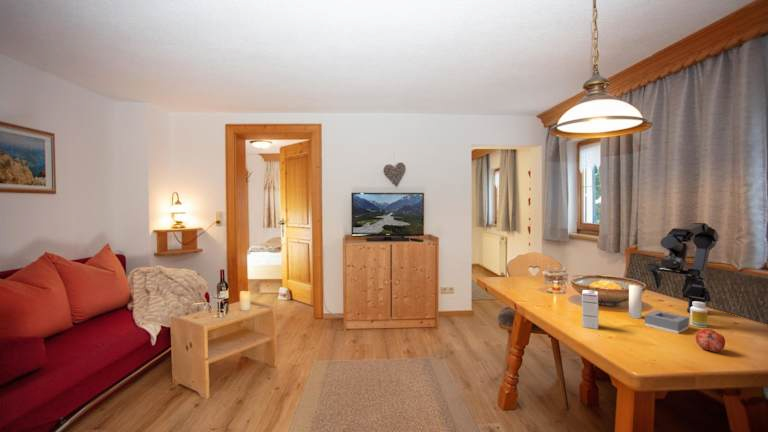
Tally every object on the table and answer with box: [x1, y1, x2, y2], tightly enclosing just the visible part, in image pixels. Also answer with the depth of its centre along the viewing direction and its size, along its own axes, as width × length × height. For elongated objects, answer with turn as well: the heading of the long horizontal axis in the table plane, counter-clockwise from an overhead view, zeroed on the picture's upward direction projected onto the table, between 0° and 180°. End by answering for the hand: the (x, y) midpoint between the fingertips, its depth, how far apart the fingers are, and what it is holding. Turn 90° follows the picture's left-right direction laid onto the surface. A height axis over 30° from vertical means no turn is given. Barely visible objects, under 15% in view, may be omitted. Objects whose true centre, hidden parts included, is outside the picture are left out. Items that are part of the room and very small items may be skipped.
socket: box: [644, 309, 690, 334], centre depth 139 cm, size 11×11×4 cm
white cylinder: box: [628, 284, 643, 320], centre depth 151 cm, size 5×5×14 cm
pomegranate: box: [695, 328, 726, 353], centre depth 117 cm, size 7×7×10 cm
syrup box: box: [581, 289, 600, 330], centre depth 140 cm, size 6×6×14 cm
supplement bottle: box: [689, 301, 709, 329], centre depth 140 cm, size 5×5×10 cm
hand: (670, 290), depth 144 cm, fingers open, 9 cm apart
